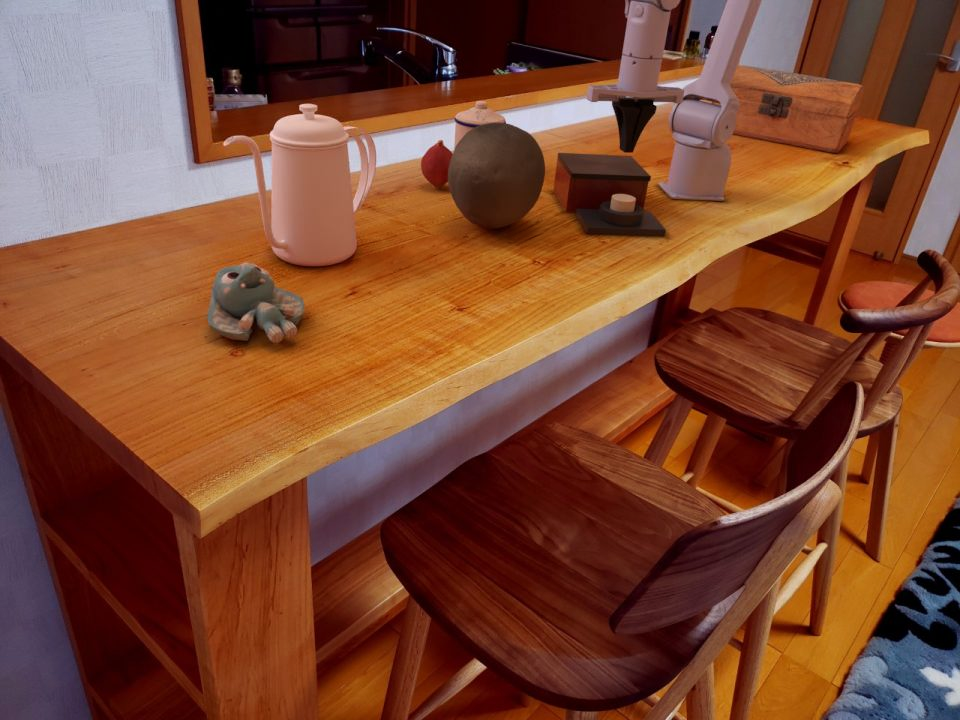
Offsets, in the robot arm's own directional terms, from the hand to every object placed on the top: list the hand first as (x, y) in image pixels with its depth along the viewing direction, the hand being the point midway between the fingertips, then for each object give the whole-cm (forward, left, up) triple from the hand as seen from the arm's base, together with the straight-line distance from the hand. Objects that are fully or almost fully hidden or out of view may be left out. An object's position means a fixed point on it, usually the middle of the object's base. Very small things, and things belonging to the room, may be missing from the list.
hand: (626, 150), depth 114 cm
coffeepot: (+46, +18, -11) cm, 50 cm away
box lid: (+2, -5, -4) cm, 7 cm away
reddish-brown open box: (+2, -6, -10) cm, 12 cm away
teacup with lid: (+19, -24, -11) cm, 32 cm away
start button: (+1, +5, -8) cm, 9 cm away
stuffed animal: (+50, +38, -11) cm, 64 cm away
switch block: (+1, +5, -10) cm, 11 cm away
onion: (+28, -11, -11) cm, 32 cm away
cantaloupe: (+21, +7, -11) cm, 24 cm away
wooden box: (-54, -58, -11) cm, 80 cm away
